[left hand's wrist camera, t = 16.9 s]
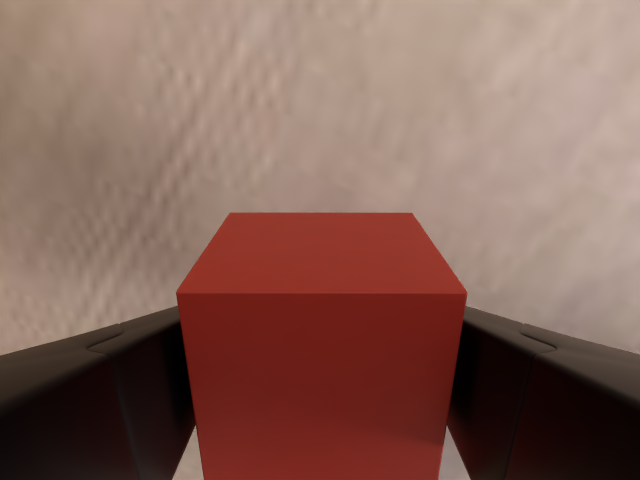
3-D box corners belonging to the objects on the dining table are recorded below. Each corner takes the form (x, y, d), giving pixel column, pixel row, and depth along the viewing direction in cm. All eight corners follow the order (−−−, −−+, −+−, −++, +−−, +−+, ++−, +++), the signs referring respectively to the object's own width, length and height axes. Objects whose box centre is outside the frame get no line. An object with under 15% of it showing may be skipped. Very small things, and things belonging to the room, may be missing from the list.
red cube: (229, 212, 11) (174, 291, 7) (412, 212, 11) (468, 292, 7) (242, 361, 13) (205, 496, 9) (398, 362, 13) (436, 496, 9)
